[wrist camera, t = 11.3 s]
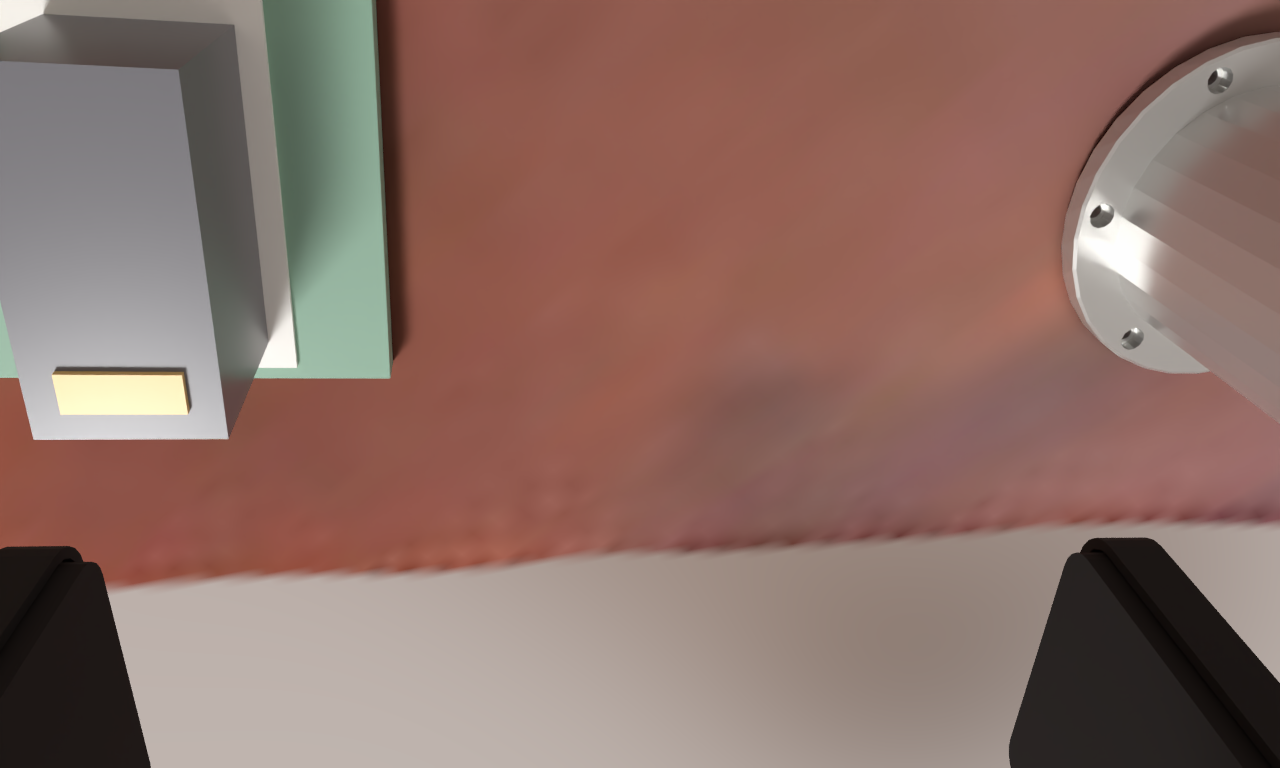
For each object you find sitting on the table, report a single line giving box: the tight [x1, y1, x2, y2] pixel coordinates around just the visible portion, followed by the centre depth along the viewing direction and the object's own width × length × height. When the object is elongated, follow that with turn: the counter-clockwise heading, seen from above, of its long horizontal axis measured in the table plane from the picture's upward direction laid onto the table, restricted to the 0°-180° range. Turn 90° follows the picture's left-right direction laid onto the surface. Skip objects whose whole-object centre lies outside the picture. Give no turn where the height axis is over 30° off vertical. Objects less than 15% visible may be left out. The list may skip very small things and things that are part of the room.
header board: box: [0, 0, 393, 378], centre depth 29 cm, size 13×13×5 cm
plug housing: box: [0, 14, 269, 440], centre depth 28 cm, size 5×10×6 cm, turn 176°
